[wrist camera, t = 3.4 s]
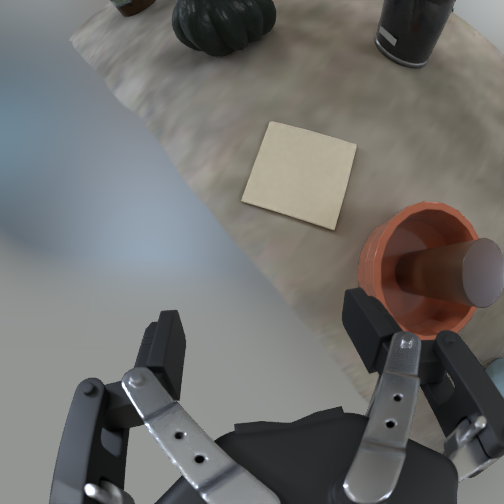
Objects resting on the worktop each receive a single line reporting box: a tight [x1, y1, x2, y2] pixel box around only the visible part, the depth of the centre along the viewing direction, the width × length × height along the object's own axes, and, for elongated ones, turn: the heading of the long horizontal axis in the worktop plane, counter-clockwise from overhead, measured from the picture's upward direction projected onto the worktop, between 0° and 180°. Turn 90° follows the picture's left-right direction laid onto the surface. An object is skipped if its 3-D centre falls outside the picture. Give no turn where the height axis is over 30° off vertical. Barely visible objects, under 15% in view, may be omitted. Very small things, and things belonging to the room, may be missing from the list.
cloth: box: [241, 121, 357, 231], centre depth 30 cm, size 11×11×1 cm
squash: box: [172, 0, 276, 57], centre depth 28 cm, size 14×15×15 cm
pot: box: [358, 201, 479, 340], centre depth 24 cm, size 14×14×6 cm
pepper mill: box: [395, 238, 504, 308], centre depth 20 cm, size 5×5×14 cm
